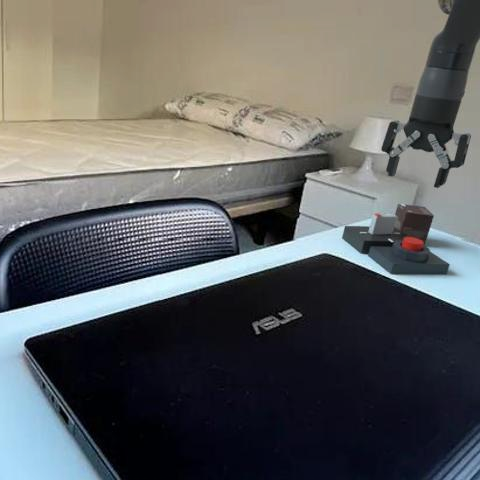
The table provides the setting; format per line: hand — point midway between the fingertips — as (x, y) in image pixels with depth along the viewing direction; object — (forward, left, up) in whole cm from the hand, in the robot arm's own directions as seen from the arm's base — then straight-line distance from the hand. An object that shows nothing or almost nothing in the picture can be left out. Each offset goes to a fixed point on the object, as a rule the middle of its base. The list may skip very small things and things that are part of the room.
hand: (413, 181), depth 96 cm
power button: (0, +4, -12) cm, 13 cm away
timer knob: (+1, -5, -13) cm, 14 cm away
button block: (0, +4, -16) cm, 17 cm away
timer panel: (+1, -5, -16) cm, 17 cm away
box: (-9, -8, -16) cm, 20 cm away
